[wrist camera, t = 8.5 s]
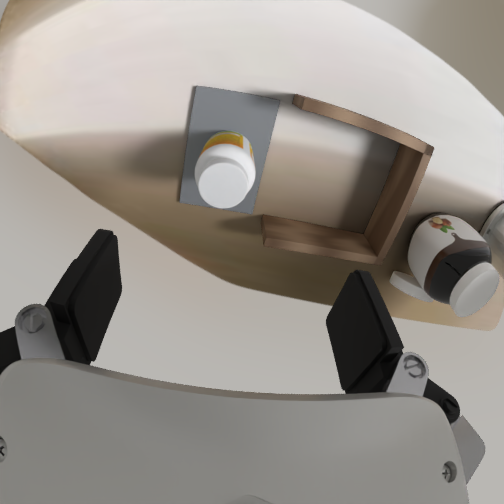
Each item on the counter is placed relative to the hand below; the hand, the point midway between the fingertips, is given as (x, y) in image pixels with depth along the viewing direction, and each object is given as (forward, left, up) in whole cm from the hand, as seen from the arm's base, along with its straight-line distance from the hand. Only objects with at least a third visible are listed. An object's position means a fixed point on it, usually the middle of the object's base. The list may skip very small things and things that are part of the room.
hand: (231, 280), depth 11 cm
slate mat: (+1, 0, -19) cm, 19 cm away
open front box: (-10, 0, -19) cm, 21 cm away
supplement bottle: (+1, 0, -18) cm, 18 cm away
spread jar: (-26, +6, -19) cm, 33 cm away
